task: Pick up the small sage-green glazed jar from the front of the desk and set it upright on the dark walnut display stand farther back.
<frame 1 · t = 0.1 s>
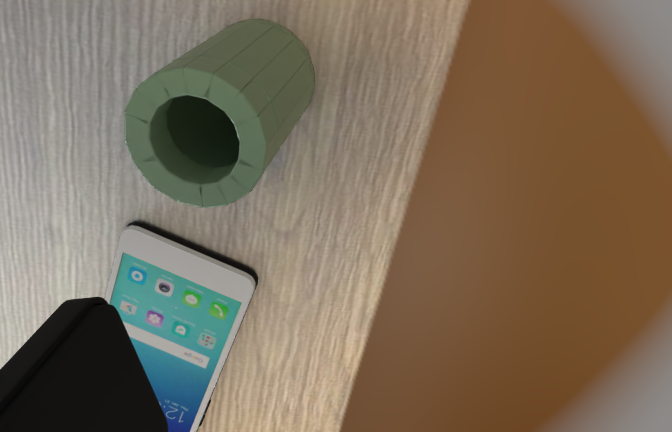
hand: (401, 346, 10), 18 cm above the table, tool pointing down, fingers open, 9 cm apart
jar: (260, 75, 27), on the table
smartphone: (164, 343, 36), on the table
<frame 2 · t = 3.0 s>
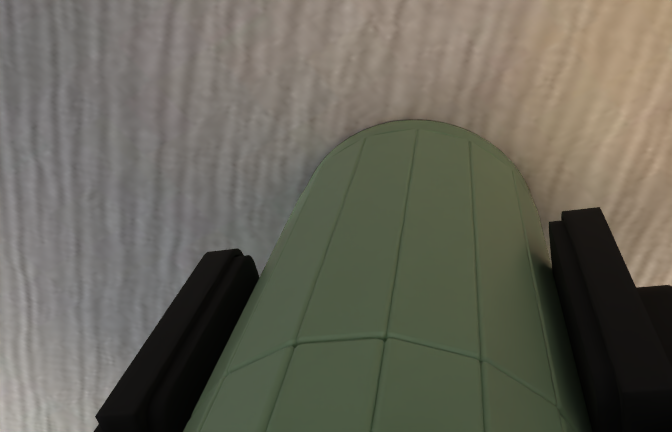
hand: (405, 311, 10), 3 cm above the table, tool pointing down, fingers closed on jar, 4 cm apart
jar: (414, 230, 13), on the table, touching gripper
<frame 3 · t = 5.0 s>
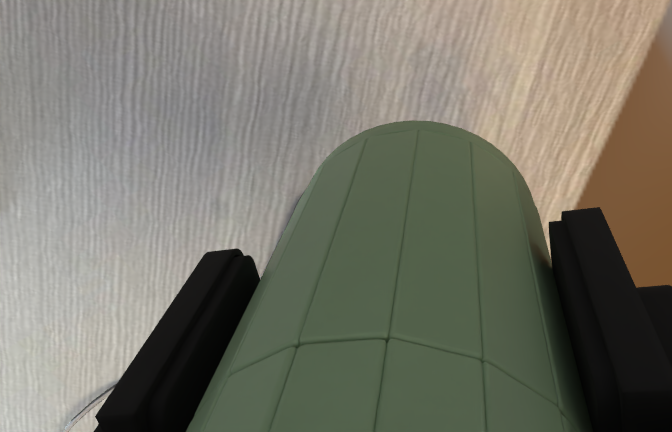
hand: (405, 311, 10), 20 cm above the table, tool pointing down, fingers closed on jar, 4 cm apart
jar: (415, 230, 13), point 17 cm above the table, touching gripper
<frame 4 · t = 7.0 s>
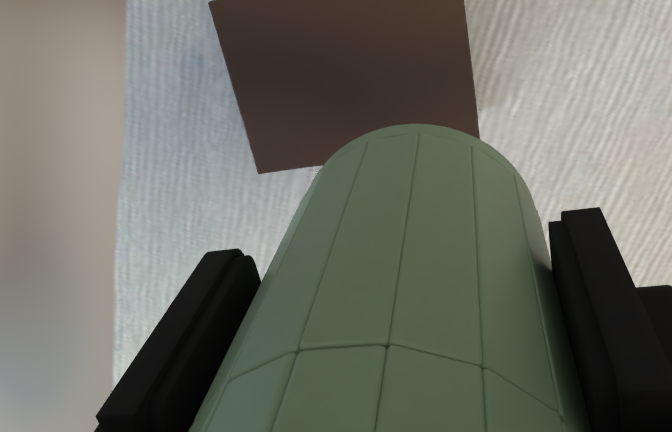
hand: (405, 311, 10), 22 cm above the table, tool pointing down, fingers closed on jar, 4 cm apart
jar: (416, 233, 13), point 19 cm above the table, touching gripper
stand: (358, 52, 30), on the table
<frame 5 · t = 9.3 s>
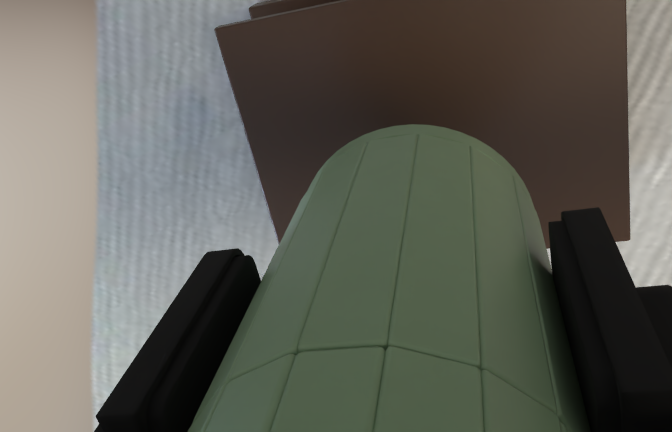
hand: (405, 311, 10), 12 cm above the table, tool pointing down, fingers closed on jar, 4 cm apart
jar: (415, 234, 13), point 9 cm above the table, touching gripper
stand: (431, 94, 21), on the table
when the fingers open (7 cm above the table, at t = 11.0 s): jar stays where it is, resting on stand.
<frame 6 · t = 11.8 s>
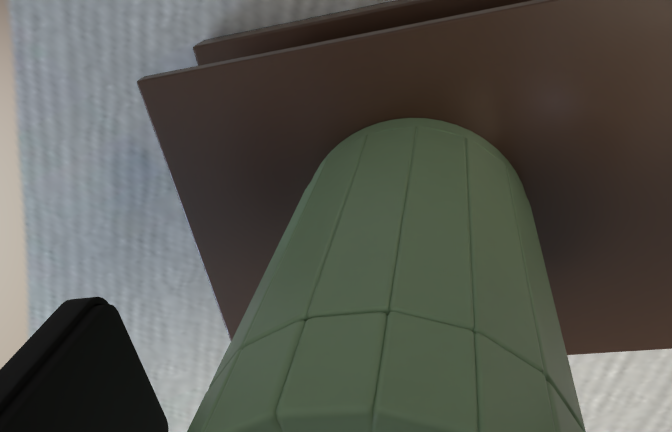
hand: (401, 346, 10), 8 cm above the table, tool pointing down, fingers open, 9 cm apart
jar: (414, 223, 14), point 4 cm above the table, touching stand
stand: (421, 151, 17), on the table
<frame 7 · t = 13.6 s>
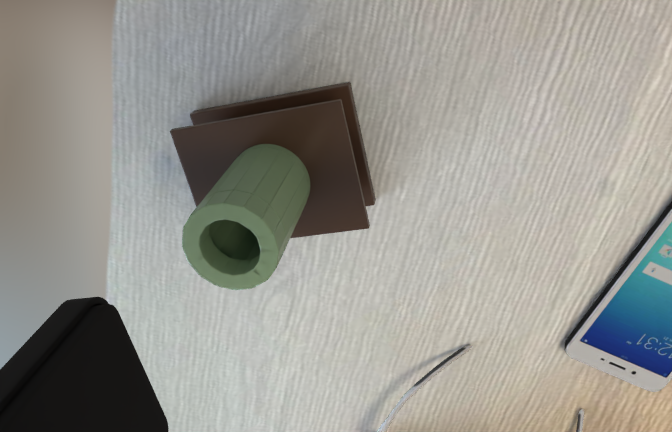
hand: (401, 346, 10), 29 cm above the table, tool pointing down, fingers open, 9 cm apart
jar: (270, 181, 37), point 4 cm above the table, touching stand
stand: (285, 155, 41), on the table
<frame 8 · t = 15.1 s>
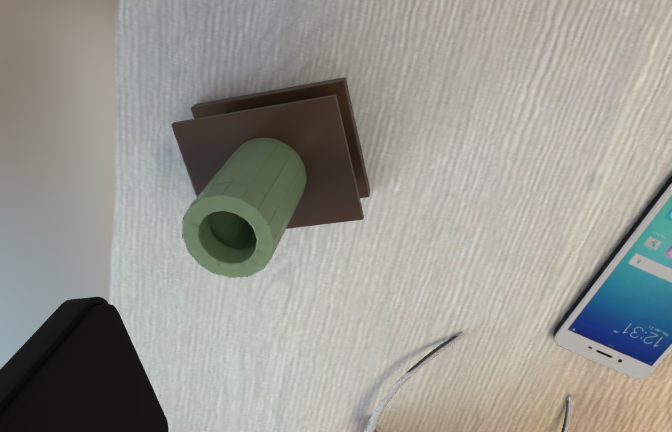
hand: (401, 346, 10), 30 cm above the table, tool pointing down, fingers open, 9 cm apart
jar: (268, 174, 38), point 4 cm above the table, touching stand
smartphone: (657, 277, 42), on the table
stand: (283, 148, 42), on the table
sunglasses: (460, 417, 51), on the table
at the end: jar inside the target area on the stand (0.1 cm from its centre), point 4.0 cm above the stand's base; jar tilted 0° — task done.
